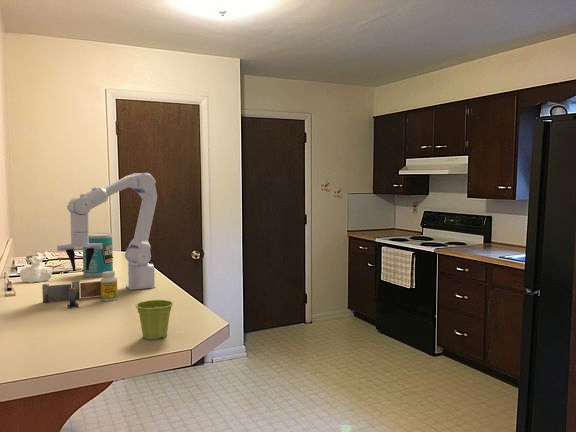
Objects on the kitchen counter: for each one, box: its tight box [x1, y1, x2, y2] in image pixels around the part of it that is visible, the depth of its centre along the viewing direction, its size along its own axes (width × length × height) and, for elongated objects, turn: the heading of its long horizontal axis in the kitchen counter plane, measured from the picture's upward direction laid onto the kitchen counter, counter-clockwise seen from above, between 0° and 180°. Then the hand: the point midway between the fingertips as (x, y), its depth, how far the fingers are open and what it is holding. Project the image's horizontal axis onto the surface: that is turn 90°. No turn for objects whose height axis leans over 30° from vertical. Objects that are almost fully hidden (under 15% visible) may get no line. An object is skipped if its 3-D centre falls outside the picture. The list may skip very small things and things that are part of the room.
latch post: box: [66, 288, 80, 310], centre depth 155 cm, size 3×3×6 cm
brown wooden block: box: [79, 280, 101, 299], centre depth 169 cm, size 12×2×6 cm, turn 119°
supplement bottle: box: [100, 270, 119, 302], centre depth 165 cm, size 5×5×10 cm
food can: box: [82, 232, 114, 279], centre depth 209 cm, size 12×12×18 cm
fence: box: [41, 280, 81, 304], centre depth 164 cm, size 12×2×6 cm, turn 119°
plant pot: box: [135, 299, 174, 340], centre depth 125 cm, size 9×9×9 cm
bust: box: [19, 255, 53, 284], centre depth 197 cm, size 12×8×11 cm
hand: (80, 270), depth 169 cm, fingers open, 4 cm apart
